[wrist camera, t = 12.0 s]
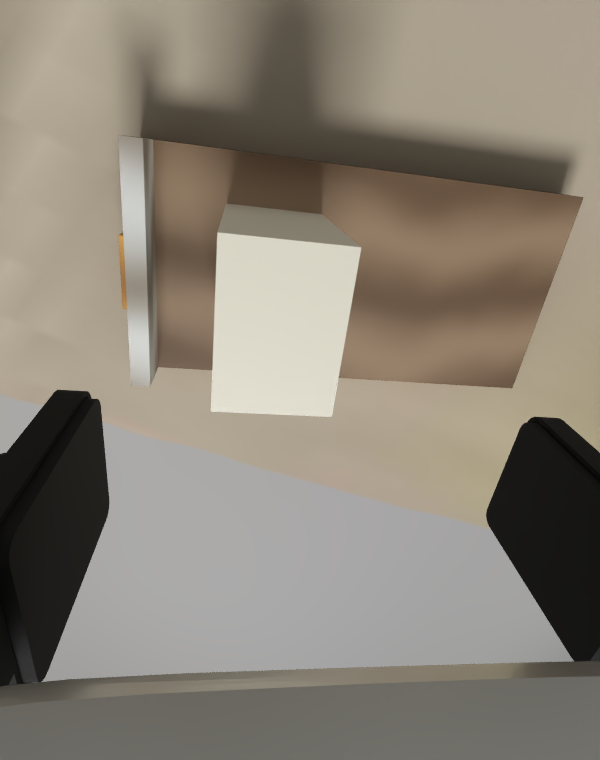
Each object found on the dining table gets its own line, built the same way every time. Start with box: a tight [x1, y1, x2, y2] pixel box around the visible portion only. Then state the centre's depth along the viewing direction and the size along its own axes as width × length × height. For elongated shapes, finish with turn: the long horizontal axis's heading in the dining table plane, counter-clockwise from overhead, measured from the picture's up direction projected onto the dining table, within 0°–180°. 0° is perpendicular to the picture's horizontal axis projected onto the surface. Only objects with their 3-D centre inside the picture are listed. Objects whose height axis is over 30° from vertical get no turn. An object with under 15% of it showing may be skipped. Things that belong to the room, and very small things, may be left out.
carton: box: [211, 203, 361, 417], centre depth 21 cm, size 5×7×9 cm
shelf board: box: [118, 135, 583, 388], centre depth 25 cm, size 12×24×4 cm, turn 83°
